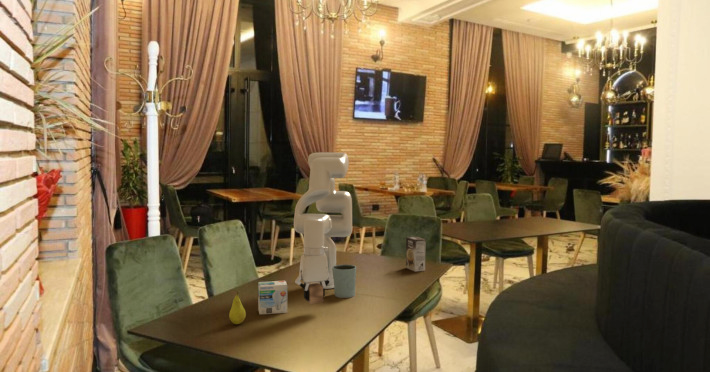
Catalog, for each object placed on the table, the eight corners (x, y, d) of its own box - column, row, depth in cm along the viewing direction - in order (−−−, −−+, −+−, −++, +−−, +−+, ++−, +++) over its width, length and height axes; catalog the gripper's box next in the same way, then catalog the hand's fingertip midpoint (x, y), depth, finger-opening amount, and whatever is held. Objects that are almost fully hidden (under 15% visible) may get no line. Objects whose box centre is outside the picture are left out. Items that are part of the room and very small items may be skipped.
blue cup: (353, 299, 210) (353, 270, 209) (329, 297, 212) (329, 268, 211) (358, 292, 219) (358, 264, 219) (335, 290, 222) (335, 263, 221)
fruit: (238, 320, 184) (238, 287, 183) (249, 323, 180) (249, 289, 179) (225, 324, 179) (225, 290, 178) (236, 327, 176) (235, 293, 175)
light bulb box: (259, 315, 189) (258, 286, 189) (257, 309, 196) (257, 281, 195) (288, 312, 192) (288, 284, 191) (285, 307, 199) (285, 279, 198)
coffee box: (405, 267, 264) (405, 236, 263) (416, 266, 267) (416, 236, 266) (414, 271, 256) (415, 239, 255) (425, 270, 259) (426, 238, 258)
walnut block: (318, 298, 194) (318, 282, 193) (323, 302, 189) (323, 286, 189) (305, 300, 192) (305, 283, 191) (310, 304, 187) (310, 287, 187)
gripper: (332, 246, 195) (332, 293, 197) (288, 251, 189) (289, 299, 190) (339, 251, 189) (339, 299, 191) (294, 255, 182) (295, 305, 184)
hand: (314, 298), depth 190 cm, fingers closed on walnut block, 5 cm apart
